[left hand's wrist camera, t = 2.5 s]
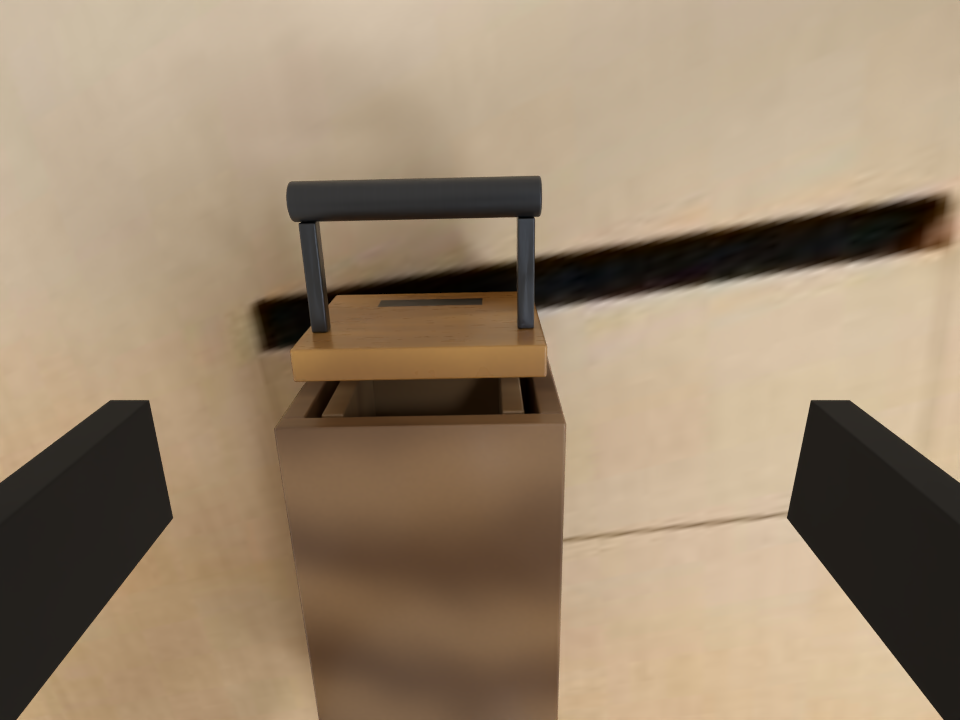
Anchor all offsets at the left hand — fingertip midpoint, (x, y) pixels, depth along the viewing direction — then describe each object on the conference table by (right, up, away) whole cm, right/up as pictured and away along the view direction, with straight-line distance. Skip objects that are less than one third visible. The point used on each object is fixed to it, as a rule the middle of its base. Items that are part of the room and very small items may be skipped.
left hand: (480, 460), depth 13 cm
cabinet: (-2, -7, +21) cm, 22 cm away
